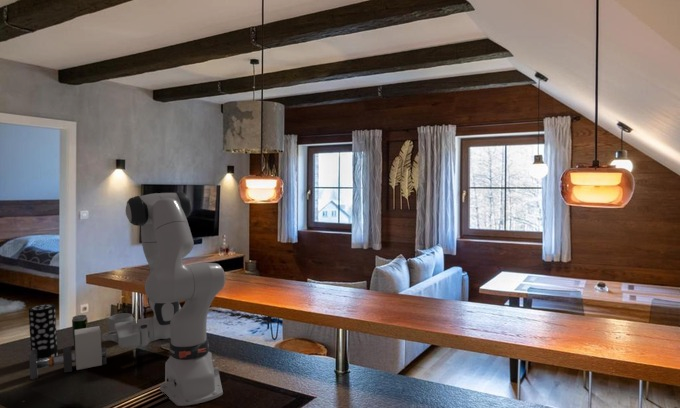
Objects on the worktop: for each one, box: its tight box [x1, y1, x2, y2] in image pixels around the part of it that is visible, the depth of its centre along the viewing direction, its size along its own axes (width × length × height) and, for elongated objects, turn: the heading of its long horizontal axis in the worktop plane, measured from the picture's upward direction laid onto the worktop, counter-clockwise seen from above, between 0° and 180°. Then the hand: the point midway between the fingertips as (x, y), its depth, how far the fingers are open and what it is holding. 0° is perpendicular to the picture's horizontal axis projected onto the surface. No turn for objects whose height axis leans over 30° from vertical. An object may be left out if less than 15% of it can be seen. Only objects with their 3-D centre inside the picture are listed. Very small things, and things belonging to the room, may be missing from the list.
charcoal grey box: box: [62, 344, 73, 374], centre depth 164 cm, size 2×7×7 cm, turn 30°
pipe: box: [28, 347, 108, 380], centre depth 164 cm, size 23×5×8 cm, turn 120°
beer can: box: [71, 314, 89, 348], centre depth 187 cm, size 5×5×12 cm
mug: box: [108, 312, 136, 344], centre depth 195 cm, size 13×9×10 cm
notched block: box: [74, 325, 103, 371], centre depth 167 cm, size 8×6×12 cm
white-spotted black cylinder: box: [28, 303, 59, 360], centre depth 173 cm, size 8×8×20 cm
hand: (102, 337), depth 169 cm, fingers closed
